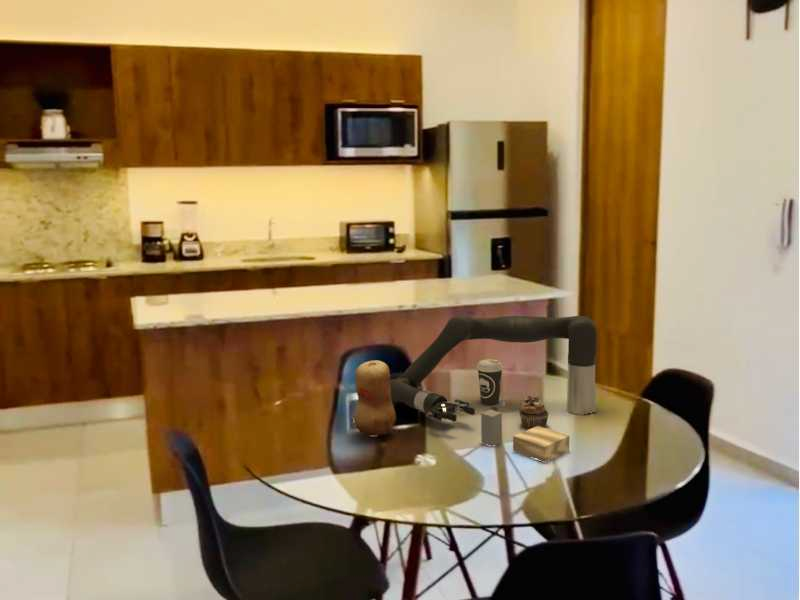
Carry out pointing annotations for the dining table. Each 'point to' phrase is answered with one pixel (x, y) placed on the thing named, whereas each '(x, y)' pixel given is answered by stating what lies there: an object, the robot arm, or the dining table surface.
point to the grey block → (491, 427)
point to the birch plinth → (541, 443)
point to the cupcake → (533, 413)
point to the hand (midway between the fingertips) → (465, 415)
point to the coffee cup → (489, 381)
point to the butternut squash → (374, 399)
